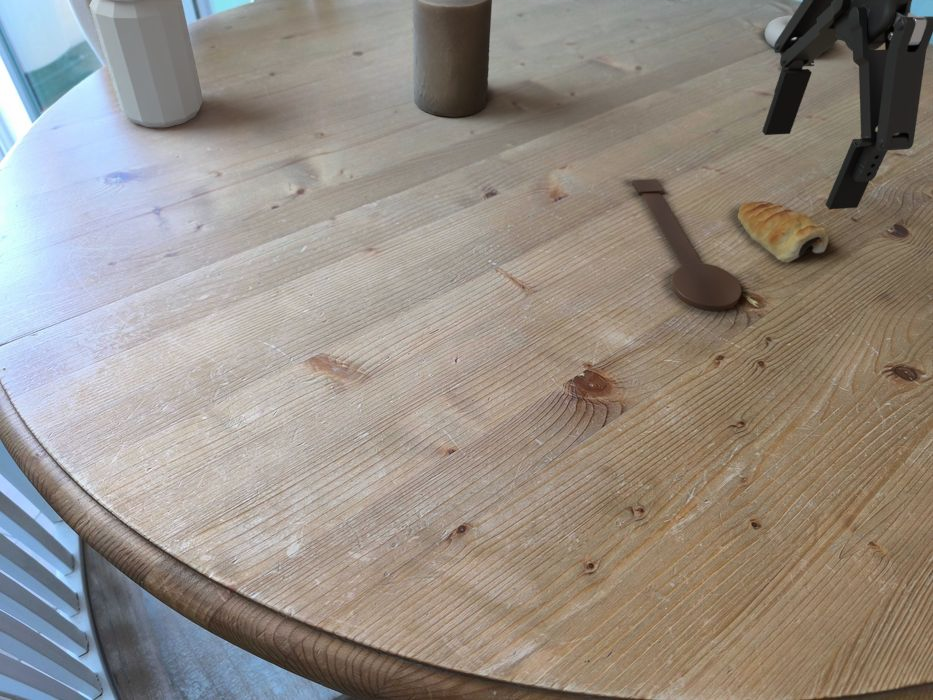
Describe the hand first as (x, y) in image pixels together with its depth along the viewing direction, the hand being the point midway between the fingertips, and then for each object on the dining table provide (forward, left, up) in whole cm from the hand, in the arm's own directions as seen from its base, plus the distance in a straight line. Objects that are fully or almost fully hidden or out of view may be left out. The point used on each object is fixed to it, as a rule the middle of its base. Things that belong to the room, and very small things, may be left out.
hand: (806, 167), depth 72 cm
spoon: (+11, 0, -9) cm, 14 cm away
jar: (+66, -33, -9) cm, 75 cm away
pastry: (0, 0, -9) cm, 9 cm away
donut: (-26, -49, -9) cm, 56 cm away
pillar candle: (+30, -34, -9) cm, 46 cm away
